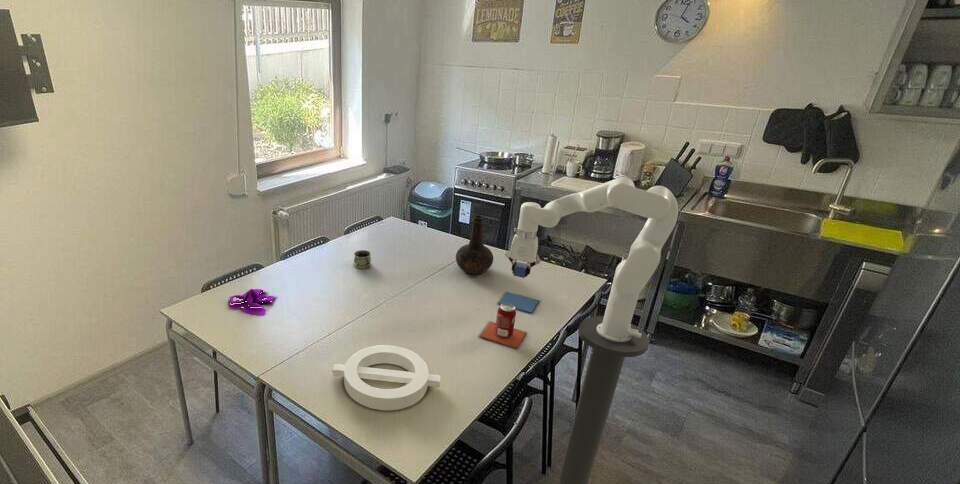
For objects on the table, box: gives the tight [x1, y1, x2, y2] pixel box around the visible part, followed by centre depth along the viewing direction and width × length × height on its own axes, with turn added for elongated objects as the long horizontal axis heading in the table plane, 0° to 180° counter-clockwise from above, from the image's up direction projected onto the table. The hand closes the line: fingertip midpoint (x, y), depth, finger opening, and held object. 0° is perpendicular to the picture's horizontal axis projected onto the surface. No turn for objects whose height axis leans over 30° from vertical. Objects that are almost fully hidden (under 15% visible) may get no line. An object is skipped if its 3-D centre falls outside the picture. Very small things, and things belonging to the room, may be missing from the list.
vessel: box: [353, 249, 372, 269], centre depth 244 cm, size 12×9×6 cm
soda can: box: [495, 303, 517, 337], centre depth 186 cm, size 7×7×12 cm
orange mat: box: [479, 321, 526, 349], centre depth 189 cm, size 14×12×1 cm
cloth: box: [228, 288, 276, 316], centre depth 210 cm, size 22×19×6 cm
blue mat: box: [498, 291, 540, 314], centre depth 211 cm, size 14×12×1 cm
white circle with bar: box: [332, 344, 441, 411], centre depth 164 cm, size 28×28×5 cm
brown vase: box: [455, 214, 494, 275], centre depth 234 cm, size 18×18×28 cm
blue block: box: [513, 261, 528, 279], centre depth 203 cm, size 4×4×4 cm
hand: (520, 273), depth 204 cm, fingers closed on blue block, 4 cm apart
